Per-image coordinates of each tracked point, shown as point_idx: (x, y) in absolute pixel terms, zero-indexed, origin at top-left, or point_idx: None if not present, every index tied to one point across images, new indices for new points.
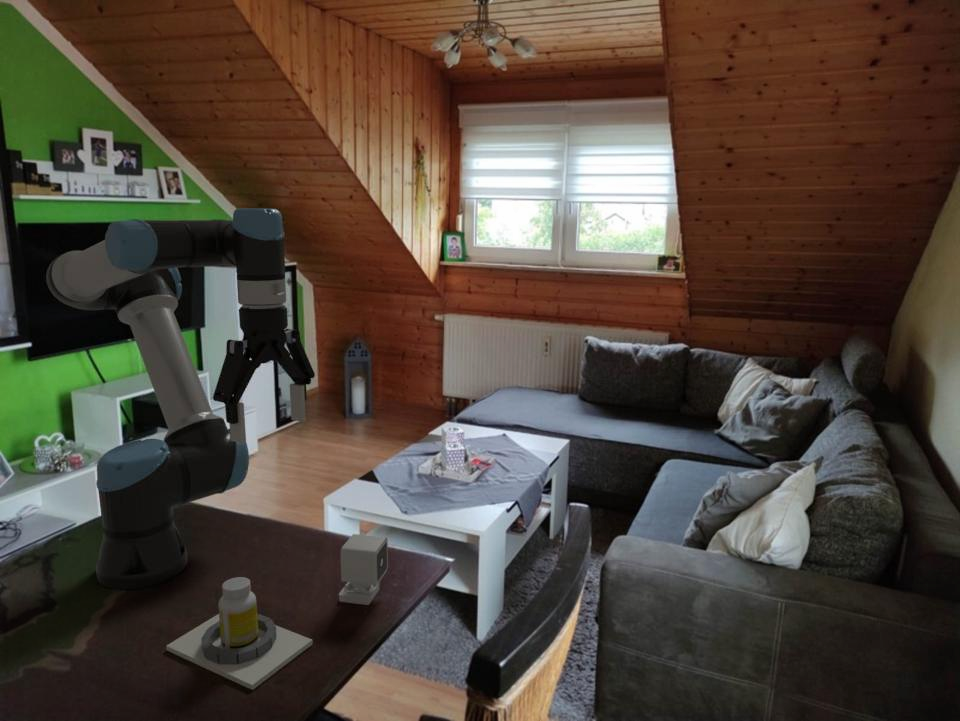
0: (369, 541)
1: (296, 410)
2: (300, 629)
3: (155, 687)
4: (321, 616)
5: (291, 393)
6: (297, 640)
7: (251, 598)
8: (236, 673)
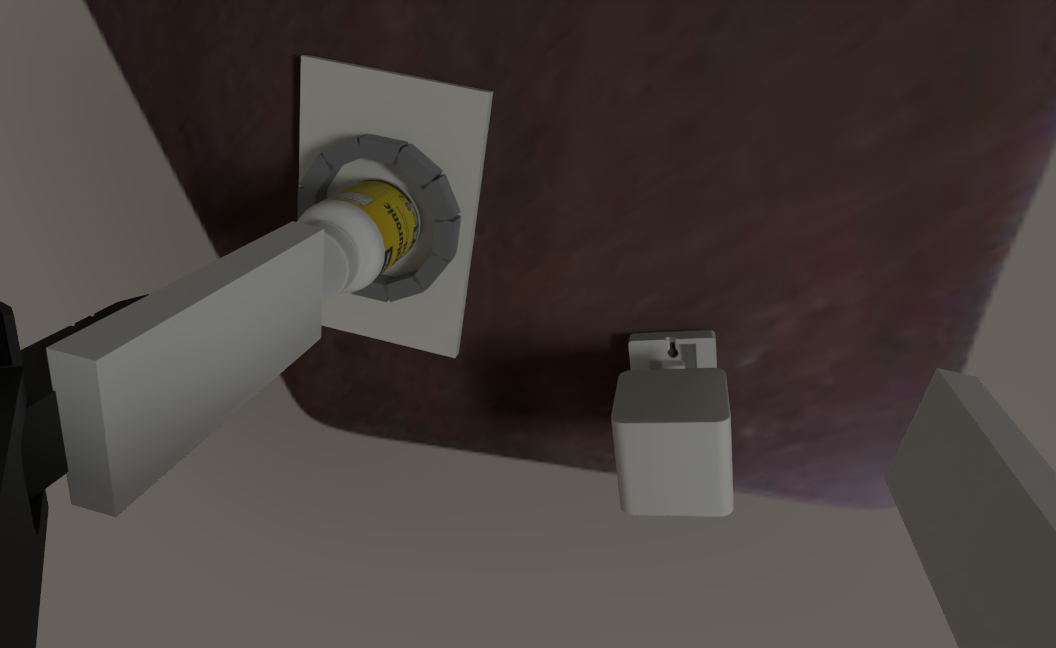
0: (681, 482)
1: (938, 481)
2: (495, 303)
3: (219, 130)
4: (557, 324)
5: (1045, 554)
6: (441, 330)
7: (345, 289)
8: None
